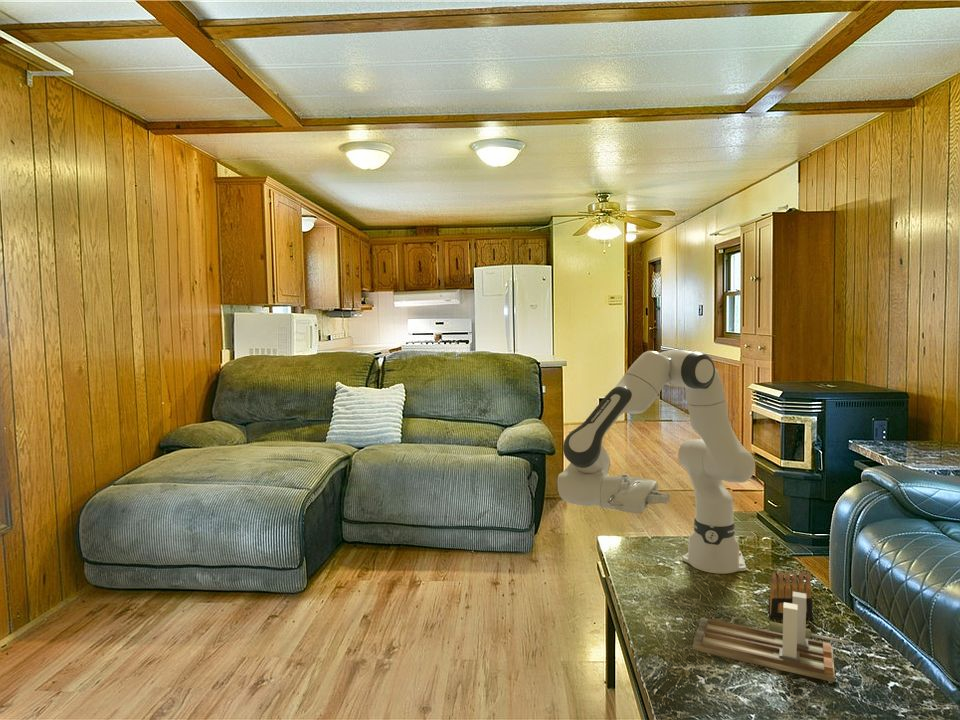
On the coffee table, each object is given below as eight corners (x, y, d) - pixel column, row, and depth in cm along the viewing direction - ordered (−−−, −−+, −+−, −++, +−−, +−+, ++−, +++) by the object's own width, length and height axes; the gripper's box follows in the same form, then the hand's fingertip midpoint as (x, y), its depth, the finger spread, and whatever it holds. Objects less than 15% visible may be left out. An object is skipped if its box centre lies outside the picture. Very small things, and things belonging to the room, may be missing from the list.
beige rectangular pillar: (779, 652, 141) (780, 600, 140) (799, 656, 139) (800, 604, 138) (779, 659, 137) (780, 607, 137) (799, 664, 136) (800, 611, 135)
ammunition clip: (771, 617, 160) (772, 572, 159) (767, 614, 162) (768, 569, 161) (812, 617, 160) (813, 572, 159) (809, 614, 162) (810, 569, 161)
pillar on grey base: (788, 639, 146) (790, 590, 145) (808, 643, 144) (809, 593, 143) (788, 646, 143) (789, 596, 142) (808, 650, 141) (809, 599, 140)
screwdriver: (769, 634, 152) (769, 624, 152) (769, 628, 154) (769, 619, 154) (849, 650, 144) (849, 640, 144) (848, 644, 146) (849, 634, 146)
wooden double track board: (700, 625, 156) (700, 615, 156) (832, 652, 143) (832, 642, 143) (692, 649, 145) (692, 639, 145) (834, 682, 132) (835, 671, 131)
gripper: (604, 491, 156) (660, 497, 150) (624, 472, 174) (675, 477, 168) (604, 515, 157) (660, 523, 150) (625, 494, 175) (675, 500, 168)
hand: (668, 498), depth 159 cm, fingers closed
